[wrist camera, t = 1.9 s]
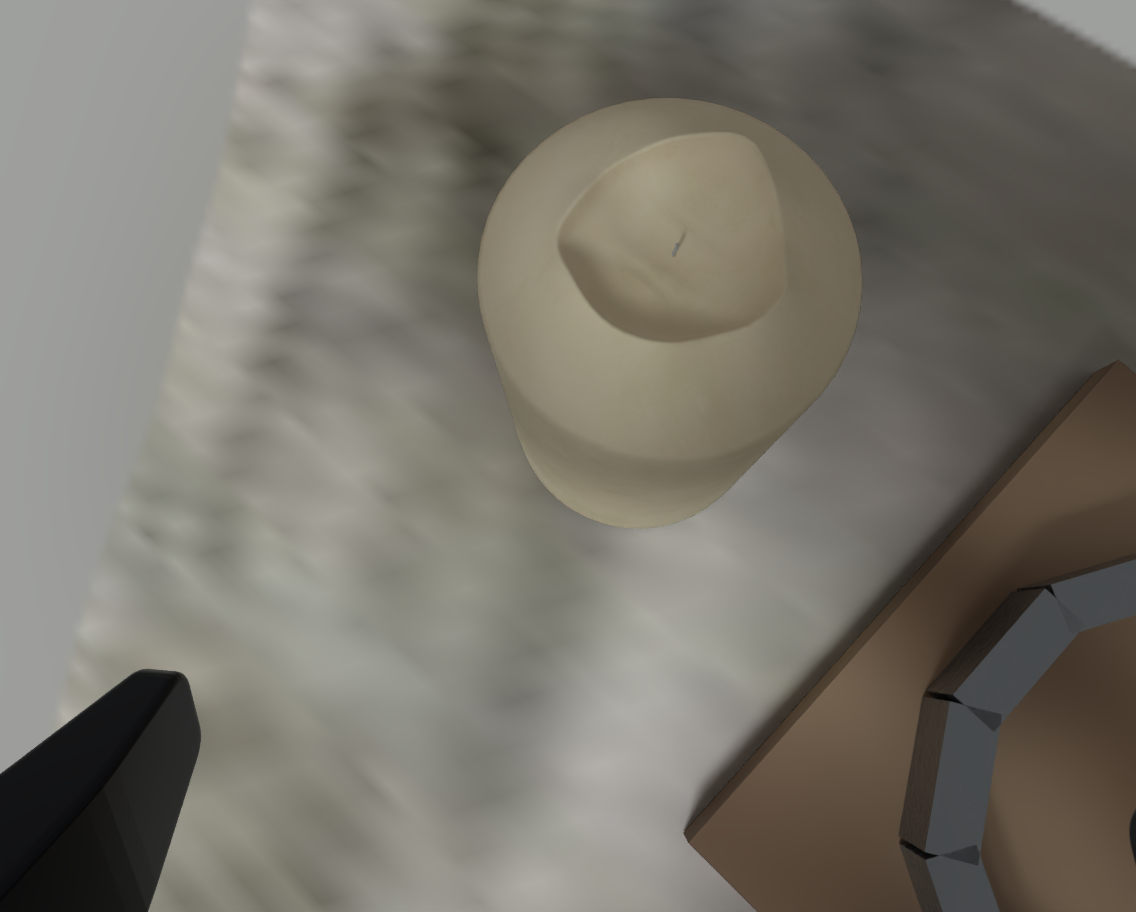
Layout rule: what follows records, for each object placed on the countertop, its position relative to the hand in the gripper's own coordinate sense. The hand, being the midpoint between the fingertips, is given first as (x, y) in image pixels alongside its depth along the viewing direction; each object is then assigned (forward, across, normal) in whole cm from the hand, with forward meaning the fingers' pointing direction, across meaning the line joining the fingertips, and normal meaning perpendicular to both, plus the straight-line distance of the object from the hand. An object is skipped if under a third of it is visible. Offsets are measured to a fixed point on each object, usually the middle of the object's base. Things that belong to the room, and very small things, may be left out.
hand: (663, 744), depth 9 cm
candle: (+13, 0, +4) cm, 14 cm away
